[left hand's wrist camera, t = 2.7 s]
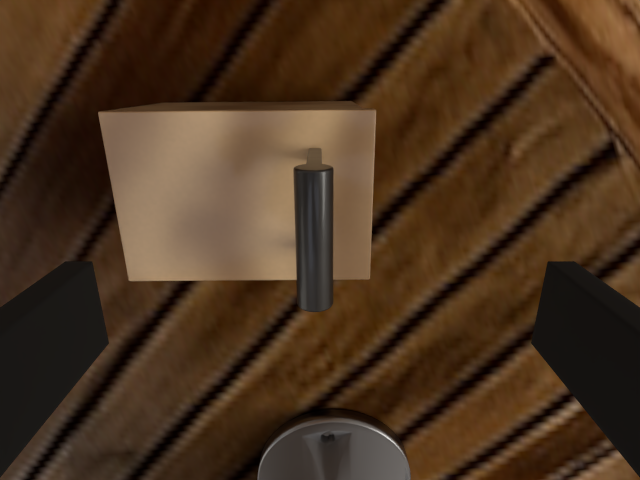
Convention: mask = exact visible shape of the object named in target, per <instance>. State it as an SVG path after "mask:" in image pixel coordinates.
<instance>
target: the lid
mask: <svg viewBox="0 0 640 480" xmlns="http://www.w3.org/2000/svg"><path fill="white" fill-rule="evenodd" d="M98 115H99V121H100V126H101V131H102V137H103V142H104V148H105V153H106V159H107V164H108V169H109V175H110V180H111V186H112V191H113V197H114V202H115V207H116V213H117V218H118V224H119V229H120V235H121V240H122V245H123V251H124V256H125V262H126V267H127V273H128V278H129V281H198V280H297V304H298V306H299V307H300V308H301V309H303V310H305V311H309V312H320V311H324V310H327V309H329V308H330V307H331V306H332V304H333V280H342V279H370V261H371V235H372V208H373V181H374V155H375V128H376V110H375V109H258V110H131V111H101V112H98Z"/></svg>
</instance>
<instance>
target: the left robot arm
mask: <svg viewBox="0 0 640 480" xmlns="http://www.w3.org/2000/svg"><path fill="white" fill-rule="evenodd" d="M108 344H109V342H108V337H107V332H106V327H105V322H104V317H103V312H102V307H101V302H100V298H99V293H98V288H97V283H96V278H95V273H94V268H93V263H92V262H64V263H63V264H61V265H60V266H59V267H57V268H56V269H54V270H53V271H51V272H50V273H49V274H47V275H46V276H44V277H43V278H42V279H40V280H39V281H37V282H36V283H34V284H33V285H32V286H30V287H29V288H27V289H26V290H25V291H23V292H22V293H20V294H19V295H17V296H16V297H15V298H13V299H12V300H10V301H9V302H7V303H6V304H5V305H3V306H2V307H0V477H1V476H2V474H3V473H4V472H5V471H6V470H7V468H8V467H9V466H10V465H11V463H12V462H13V461H14V460H15V458H16V457H17V456H18V455H19V453H20V452H21V451H22V450H23V449H24V447H25V446H26V445H27V444H28V442H29V441H30V440H31V439H32V437H33V436H34V435H35V434H36V432H37V431H38V430H39V429H40V428H41V426H42V425H43V424H44V423H45V421H46V420H47V419H48V418H49V416H50V415H51V414H52V413H53V411H54V410H55V409H56V408H57V407H58V405H59V404H60V403H61V402H62V400H63V399H64V398H65V397H66V395H67V394H68V393H69V392H70V390H71V389H72V388H73V387H74V386H75V384H76V383H77V382H78V381H79V379H80V378H81V377H82V376H83V374H84V373H85V372H86V371H87V369H88V368H89V367H90V366H91V365H92V363H93V362H94V361H95V360H96V358H97V357H98V356H99V355H100V353H101V352H102V351H103V350H104V348H105V347H106V346H107V345H108ZM531 344H532V345H533V346H534V347H535V348H536V350H537V351H538V352H539V353H540V355H541V356H542V357H543V358H544V360H545V361H546V362H547V363H548V365H549V366H550V367H551V368H552V369H553V371H554V372H555V373H556V374H557V376H558V377H559V378H560V379H561V381H562V382H563V383H564V384H565V386H566V387H567V388H568V389H569V390H570V392H571V393H572V394H573V395H574V397H575V398H576V399H577V400H578V402H579V403H580V404H581V405H582V407H583V408H584V409H585V410H586V411H587V413H588V414H589V415H590V416H591V418H592V419H593V420H594V421H595V423H596V424H597V425H598V426H599V428H600V429H601V430H602V431H603V432H604V434H605V435H606V436H607V437H608V439H609V440H610V441H611V442H612V444H613V445H614V446H615V447H616V449H617V450H618V451H619V452H620V453H621V455H622V456H623V457H624V458H625V460H626V461H627V462H628V463H629V465H630V466H631V467H632V468H633V470H634V471H635V472H636V473H637V474H638V476H639V477H640V307H638V306H637V305H635V304H634V303H633V302H631V301H630V300H628V299H627V298H625V297H624V296H623V295H621V294H620V293H618V292H617V291H615V290H614V289H613V288H611V287H610V286H608V285H607V284H606V283H604V282H603V281H601V280H600V279H598V278H597V277H596V276H594V275H593V274H591V273H590V272H589V271H587V270H586V269H584V268H583V267H581V266H580V265H579V264H577V263H576V262H548V263H547V268H546V273H545V278H544V283H543V288H542V293H541V298H540V302H539V307H538V312H537V317H536V322H535V327H534V332H533V337H532V342H531ZM258 480H410V468H409V464H408V460H407V455H406V451H405V449H404V446H403V444H402V443H401V441H400V439H399V438H398V437H397V435H396V434H395V433H394V432H393V431H392V430H391V429H390V428H389V427H387V426H386V425H385V424H383V423H382V422H380V421H378V420H377V419H375V418H372V417H370V416H368V415H365V414H362V413H358V412H354V411H348V410H335V409H333V410H321V411H315V412H310V413H307V414H304V415H301V416H298V417H296V418H294V419H292V420H290V421H288V422H287V423H285V424H284V425H282V426H281V427H280V428H278V429H277V430H276V431H275V432H274V433H273V434H272V436H271V437H270V438H269V439H268V441H267V442H266V444H265V446H264V448H263V451H262V454H261V458H260V465H259V471H258Z"/></svg>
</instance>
